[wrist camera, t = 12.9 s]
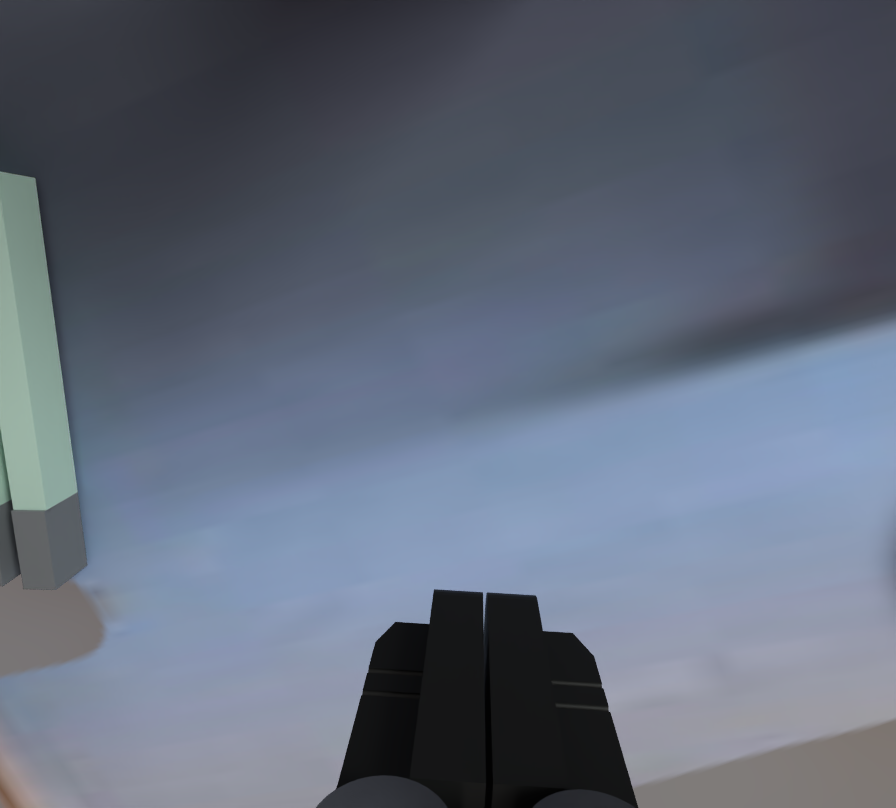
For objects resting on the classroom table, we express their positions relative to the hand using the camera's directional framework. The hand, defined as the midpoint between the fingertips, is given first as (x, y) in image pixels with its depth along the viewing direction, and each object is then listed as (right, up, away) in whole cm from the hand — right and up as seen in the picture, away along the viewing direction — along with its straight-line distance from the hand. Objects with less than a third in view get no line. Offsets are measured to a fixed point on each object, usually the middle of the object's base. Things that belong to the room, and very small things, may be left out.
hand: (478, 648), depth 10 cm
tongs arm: (-26, +7, +29) cm, 40 cm away
